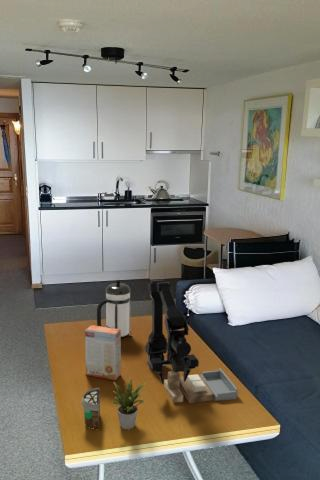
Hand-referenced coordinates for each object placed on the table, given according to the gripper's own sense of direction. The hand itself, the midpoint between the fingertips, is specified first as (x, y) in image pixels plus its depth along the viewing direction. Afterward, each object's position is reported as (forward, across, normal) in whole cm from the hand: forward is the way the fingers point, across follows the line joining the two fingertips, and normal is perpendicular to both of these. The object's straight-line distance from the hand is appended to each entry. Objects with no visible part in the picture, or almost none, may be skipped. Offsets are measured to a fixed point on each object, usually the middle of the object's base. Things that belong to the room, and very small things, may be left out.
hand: (173, 382), depth 181 cm
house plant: (+5, -21, -18) cm, 28 cm away
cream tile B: (+2, +10, +2) cm, 10 cm away
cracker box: (+5, -25, +21) cm, 33 cm away
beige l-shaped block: (+5, 0, 0) cm, 5 cm away
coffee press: (+5, -13, +60) cm, 61 cm away
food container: (+5, -34, -12) cm, 36 cm away
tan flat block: (+5, +9, 0) cm, 10 cm away
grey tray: (+5, +19, 0) cm, 20 cm away
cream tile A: (+2, +10, -3) cm, 10 cm away
